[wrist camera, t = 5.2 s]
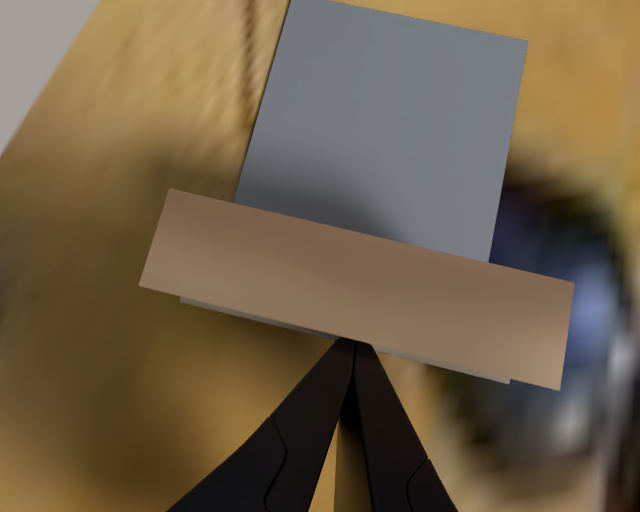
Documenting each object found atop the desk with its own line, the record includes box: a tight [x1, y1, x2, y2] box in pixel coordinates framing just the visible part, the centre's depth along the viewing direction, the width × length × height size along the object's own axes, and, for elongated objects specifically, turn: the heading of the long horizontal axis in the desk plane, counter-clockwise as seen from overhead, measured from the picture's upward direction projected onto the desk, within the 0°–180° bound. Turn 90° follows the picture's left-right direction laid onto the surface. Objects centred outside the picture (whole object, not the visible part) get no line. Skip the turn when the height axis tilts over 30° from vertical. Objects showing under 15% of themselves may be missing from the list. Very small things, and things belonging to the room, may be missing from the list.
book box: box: [138, 188, 575, 391], centre depth 14 cm, size 3×10×9 cm, turn 76°
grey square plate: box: [233, 0, 528, 263], centre depth 19 cm, size 13×12×1 cm
